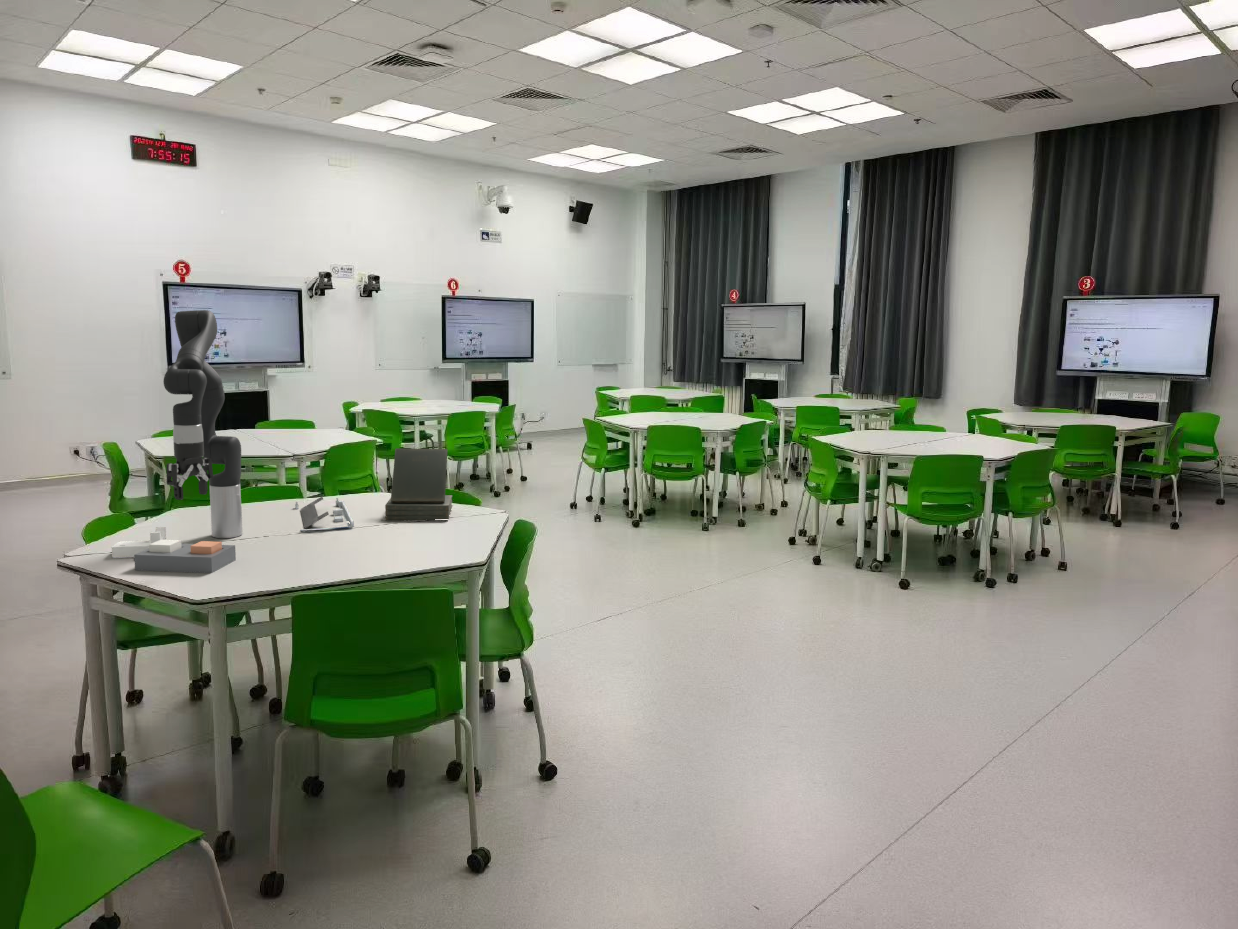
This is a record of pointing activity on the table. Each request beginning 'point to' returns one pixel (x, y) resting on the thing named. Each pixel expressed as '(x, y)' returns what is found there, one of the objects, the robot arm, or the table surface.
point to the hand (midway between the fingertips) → (191, 496)
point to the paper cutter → (311, 514)
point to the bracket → (137, 544)
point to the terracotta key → (206, 547)
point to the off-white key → (165, 546)
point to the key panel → (184, 560)
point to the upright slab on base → (419, 486)
